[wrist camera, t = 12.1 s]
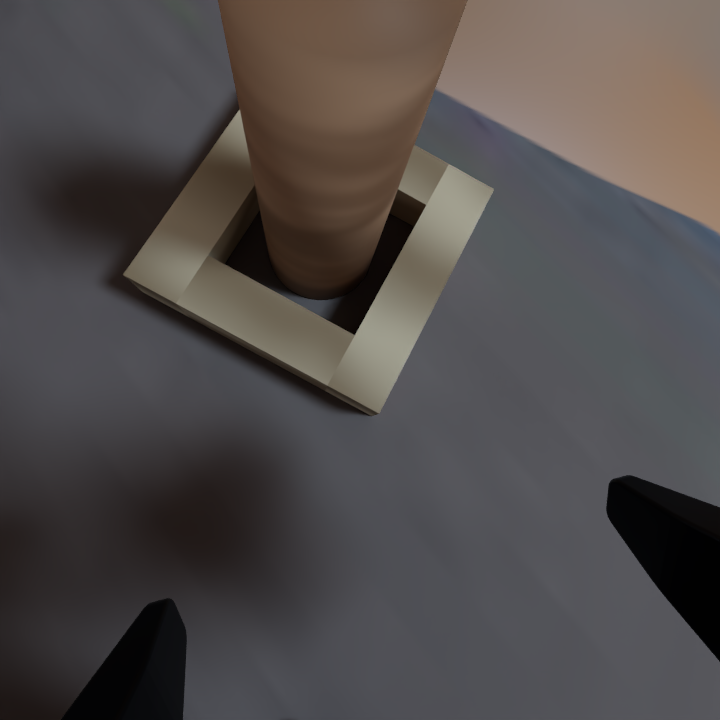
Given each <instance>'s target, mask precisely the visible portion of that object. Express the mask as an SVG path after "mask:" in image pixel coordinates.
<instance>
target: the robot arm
mask: <svg viewBox="0 0 720 720" xmlns="http://www.w3.org/2000/svg"><path fill="white" fill-rule="evenodd" d="M606 511H607V515H608V518H609V520H610V521H611V523H612V524H613V526H614V527H615V529H616V530H617V531H618V533H619V534H620V536H621V537H622V539H623V540H624V541H625V543H626V544H627V546H628V547H629V548H630V550H631V551H632V553H633V554H634V556H635V557H636V558H637V560H638V561H639V563H640V564H641V565H642V567H643V568H644V570H645V571H646V572H647V574H648V575H649V577H650V578H651V579H652V581H653V582H654V583H655V585H656V586H657V587H658V589H659V590H660V591H661V592H662V594H663V595H664V596H665V597H666V599H667V600H668V601H669V602H670V603H671V604H672V606H673V607H674V608H675V609H676V610H677V612H678V613H679V614H680V615H681V616H682V617H683V619H684V620H685V621H686V622H687V623H688V625H689V626H690V627H691V628H692V629H693V630H694V632H695V633H696V634H697V635H698V636H699V638H700V639H701V640H702V641H703V642H704V643H705V645H706V646H707V647H708V648H709V649H710V651H711V652H712V653H713V654H714V655H715V656H716V658H717V659H718V660H719V661H720V507H717V506H714V505H712V504H709V503H706V502H703V501H701V500H698V499H695V498H692V497H690V496H687V495H684V494H681V493H679V492H676V491H673V490H670V489H668V488H665V487H662V486H659V485H657V484H654V483H651V482H648V481H646V480H643V479H640V478H637V477H635V476H631V475H626V476H623V477H619V478H615V479H612V480H611V481H610V483H609V487H608V497H607V506H606ZM186 645H187V635H186V629H185V626H184V623H183V621H182V619H181V616H180V614H179V612H178V610H177V607H176V605H175V603H174V601H173V600H172V599H170V598H166V599H163V600H159V601H155V602H152V603H149V604H148V605H147V606H145V607H144V609H143V610H142V611H141V613H140V614H139V615H138V617H137V618H136V619H135V621H134V622H133V623H132V625H131V626H130V627H129V629H128V630H127V631H126V633H125V634H124V635H123V637H122V638H121V639H120V641H119V642H118V644H117V645H116V646H115V648H114V649H113V650H112V652H111V653H110V654H109V656H108V657H107V658H106V660H105V661H104V662H103V664H102V665H101V666H100V668H99V669H98V670H97V672H96V673H95V674H94V676H93V677H92V678H91V680H90V681H89V682H88V684H87V685H86V686H85V688H84V689H83V690H82V692H81V693H80V694H79V696H78V697H77V699H76V700H75V701H74V703H73V704H72V705H71V707H70V708H69V709H68V711H67V712H66V713H65V715H64V716H63V717H62V719H61V720H183V706H184V686H185V666H186Z"/></svg>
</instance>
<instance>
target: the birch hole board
mask: <svg viewBox="0 0 720 720" xmlns="http://www.w3.org/2000/svg"><path fill="white" fill-rule="evenodd" d="M493 191H494V189H493V188H491V187H489V186H487V185H485V184H484V183H482V182H480V181H478V180H476V179H475V178H473V177H471V176H469V175H467V174H466V173H464V172H462V171H460V170H458V169H457V168H455V167H453V166H451V165H450V164H448V163H446V162H444V161H442V160H441V159H439V158H437V157H435V156H433V155H432V154H430V153H428V152H426V151H424V150H423V149H421V148H419V147H417V146H415V145H414V147H413V150H412V152H411V155H410V158H409V160H408V163H407V166H406V169H405V171H404V174H403V177H402V179H401V182H400V185H399V188H398V190H397V193H396V196H395V198H394V201H393V204H392V206H391V209H390V212H389V213H390V214H392V215H394V216H396V217H397V218H399V219H401V220H403V221H405V222H406V223H408V224H410V225H412V226H414V229H413V230H412V232H411V234H410V236H409V238H408V240H407V241H406V243H405V245H404V247H403V249H402V250H401V252H400V254H399V256H398V258H397V260H396V261H395V263H394V265H393V267H392V269H391V271H390V272H389V274H388V276H387V278H386V280H385V281H384V283H383V285H382V287H381V289H380V291H379V292H378V294H377V296H376V298H375V300H374V301H373V303H372V305H371V307H370V309H369V311H368V312H367V314H366V316H365V318H364V320H363V322H362V323H361V325H360V327H359V329H358V331H357V332H356V334H355V335H353V334H351V333H350V332H348V331H346V330H344V329H342V328H340V327H339V326H337V325H335V324H333V323H331V322H329V321H328V320H326V319H324V318H322V317H320V316H318V315H317V314H315V313H313V312H311V311H309V310H307V309H306V308H304V307H302V306H300V305H298V304H296V303H295V302H293V301H291V300H289V299H287V298H285V297H284V296H282V295H280V294H278V293H276V292H274V291H273V290H271V289H269V288H267V287H265V286H263V285H262V284H260V283H258V282H256V281H254V280H252V279H251V278H249V277H247V276H245V275H243V274H241V273H240V272H238V271H236V270H234V269H232V268H230V267H229V266H227V265H225V263H226V261H227V260H228V258H229V257H230V255H231V254H232V252H233V251H234V249H235V248H236V246H237V244H238V243H239V241H240V240H241V238H242V237H243V235H244V234H245V232H246V231H247V229H248V228H249V226H250V224H251V223H252V221H253V220H254V218H255V217H256V215H257V214H258V212H259V211H260V208H259V203H258V198H257V193H256V188H255V183H254V178H253V173H252V168H251V163H250V158H249V153H248V148H247V143H246V138H245V133H244V128H243V123H242V118H241V113H240V110H239V111H238V112H237V114H236V115H235V117H234V118H233V119H232V121H231V122H230V124H229V125H228V127H227V128H226V129H225V131H224V132H223V134H222V135H221V136H220V138H219V139H218V141H217V142H216V144H215V145H214V146H213V148H212V149H211V151H210V152H209V154H208V155H207V156H206V158H205V159H204V161H203V162H202V163H201V165H200V166H199V168H198V169H197V171H196V172H195V173H194V175H193V176H192V178H191V179H190V180H189V182H188V183H187V185H186V186H185V188H184V189H183V190H182V192H181V193H180V195H179V196H178V197H177V199H176V200H175V202H174V203H173V205H172V206H171V207H170V209H169V210H168V212H167V213H166V214H165V216H164V217H163V219H162V220H161V222H160V223H159V224H158V226H157V227H156V229H155V230H154V231H153V233H152V234H151V236H150V237H149V239H148V240H147V241H146V243H145V244H144V246H143V247H142V249H141V250H140V251H139V253H138V254H137V256H136V257H135V258H134V260H133V261H132V263H131V264H130V266H129V267H128V268H127V270H126V271H125V273H124V274H123V275H124V276H125V277H126V278H127V279H128V280H129V281H131V282H132V283H133V284H134V285H135V286H136V287H137V288H139V289H140V290H141V291H142V292H143V293H145V294H147V295H149V296H151V297H153V298H154V299H156V300H158V301H160V302H162V303H164V304H165V305H167V306H169V307H171V308H173V309H175V310H177V311H178V312H180V313H182V314H184V315H186V316H188V317H189V318H191V319H193V320H195V321H197V322H199V323H201V324H202V325H204V326H206V327H208V328H210V329H212V330H213V331H215V332H217V333H219V334H221V335H223V336H225V337H226V338H228V339H230V340H232V341H234V342H236V343H237V344H239V345H241V346H243V347H245V348H247V349H249V350H250V351H252V352H254V353H256V354H258V355H260V356H261V357H263V358H265V359H267V360H269V361H271V362H273V363H274V364H276V365H278V366H280V367H282V368H284V369H285V370H287V371H289V372H291V373H293V374H295V375H296V376H298V377H300V378H302V379H304V380H306V381H308V382H309V383H311V384H313V385H315V386H317V387H319V388H320V389H322V390H324V391H326V392H328V393H330V394H332V395H333V396H335V397H337V398H339V399H341V400H343V401H344V402H346V403H348V404H350V405H352V406H354V407H356V408H357V409H359V410H361V411H363V412H365V413H367V414H368V415H370V416H374V415H377V414H379V413H380V411H381V409H382V407H383V405H384V403H385V401H386V399H387V397H388V395H389V393H390V392H391V390H392V388H393V386H394V384H395V382H396V380H397V378H398V376H399V374H400V372H401V370H402V368H403V366H404V364H405V362H406V360H407V358H408V356H409V354H410V353H411V351H412V349H413V347H414V345H415V343H416V341H417V339H418V337H419V335H420V333H421V331H422V329H423V327H424V325H425V323H426V321H427V319H428V317H429V315H430V313H431V312H432V310H433V308H434V306H435V304H436V302H437V300H438V298H439V296H440V294H441V292H442V290H443V288H444V286H445V284H446V282H447V280H448V278H449V276H450V274H451V273H452V271H453V269H454V267H455V265H456V263H457V261H458V259H459V257H460V255H461V253H462V251H463V249H464V247H465V245H466V243H467V241H468V239H469V237H470V235H471V234H472V232H473V230H474V228H475V226H476V224H477V222H478V220H479V218H480V216H481V214H482V212H483V210H484V208H485V206H486V204H487V202H488V200H489V198H490V196H491V194H492V193H493Z"/></svg>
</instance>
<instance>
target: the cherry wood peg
mask: <svg viewBox="0 0 720 720" xmlns="http://www.w3.org/2000/svg"><path fill="white" fill-rule="evenodd" d="M218 3H219V8H220V13H221V18H222V23H223V28H224V33H225V38H226V43H227V48H228V53H229V58H230V63H231V68H232V73H233V78H234V83H235V88H236V93H237V98H238V103H239V108H240V113H241V118H242V123H243V128H244V133H245V138H246V143H247V148H248V153H249V158H250V163H251V168H252V173H253V178H254V183H255V188H256V193H257V198H258V203H259V208H260V213H261V218H262V223H263V228H264V233H265V238H266V243H267V248H268V253H269V258H270V262H271V266H272V268H273V270H274V272H275V274H276V276H277V277H278V279H279V280H280V281H281V282H282V283H283V284H284V285H285V286H286V287H287V288H288V289H290V290H291V291H293V292H294V293H296V294H298V295H300V296H303V297H306V298H310V299H316V300H328V299H334V298H338V297H341V296H343V295H345V294H347V293H349V292H351V291H352V290H353V289H355V288H356V287H357V286H358V285H359V284H360V283H361V281H362V280H363V279H364V277H365V275H366V274H367V271H368V269H369V266H370V263H371V261H372V258H373V255H374V253H375V250H376V247H377V244H378V242H379V239H380V236H381V234H382V231H383V228H384V225H385V223H386V220H387V217H388V215H389V212H390V209H391V206H392V204H393V201H394V198H395V196H396V193H397V190H398V188H399V185H400V182H401V179H402V177H403V174H404V171H405V169H406V166H407V163H408V160H409V158H410V155H411V152H412V150H413V147H414V144H415V141H416V139H417V136H418V133H419V131H420V128H421V125H422V122H423V120H424V117H425V114H426V112H427V109H428V106H429V103H430V101H431V98H432V95H433V93H434V90H435V87H436V84H437V81H438V79H439V76H440V74H441V71H442V68H443V66H444V63H445V60H446V57H447V55H448V52H449V49H450V47H451V44H452V41H453V38H454V36H455V33H456V30H457V28H458V25H459V22H460V19H461V17H462V14H463V11H464V9H465V6H466V3H467V0H218Z"/></svg>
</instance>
